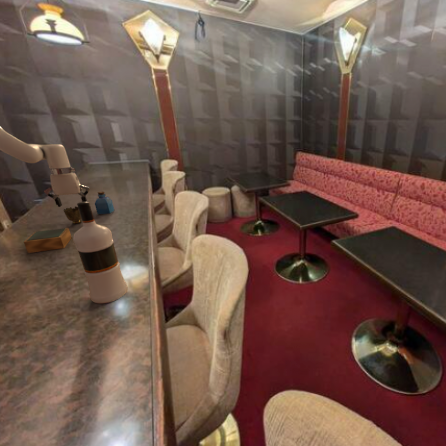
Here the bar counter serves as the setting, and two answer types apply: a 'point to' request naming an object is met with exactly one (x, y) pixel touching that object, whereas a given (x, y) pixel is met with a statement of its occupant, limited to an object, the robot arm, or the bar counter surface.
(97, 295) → the vodka
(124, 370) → the bar counter surface
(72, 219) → the cup
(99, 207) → the perfume bottle
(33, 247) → the riser
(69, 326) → the bar counter surface
